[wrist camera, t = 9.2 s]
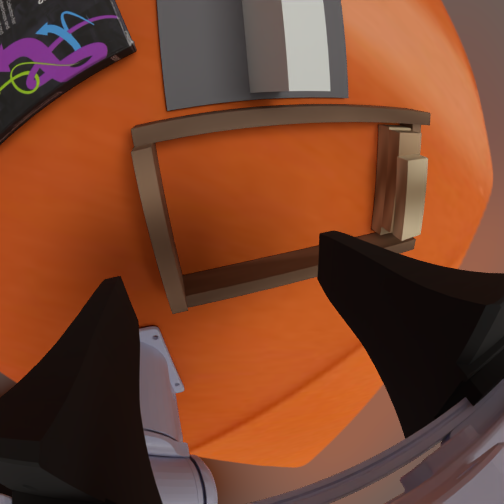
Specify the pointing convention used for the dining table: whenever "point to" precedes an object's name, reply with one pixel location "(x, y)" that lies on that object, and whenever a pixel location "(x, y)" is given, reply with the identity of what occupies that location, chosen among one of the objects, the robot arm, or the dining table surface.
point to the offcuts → (399, 182)
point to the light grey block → (286, 45)
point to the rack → (260, 270)
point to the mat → (227, 53)
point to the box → (53, 51)
